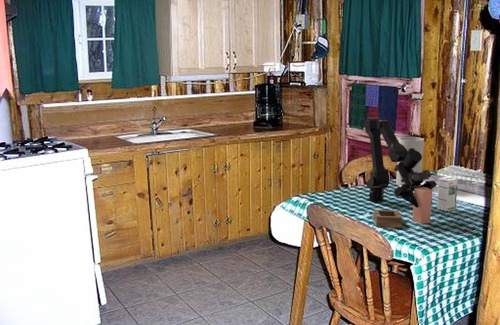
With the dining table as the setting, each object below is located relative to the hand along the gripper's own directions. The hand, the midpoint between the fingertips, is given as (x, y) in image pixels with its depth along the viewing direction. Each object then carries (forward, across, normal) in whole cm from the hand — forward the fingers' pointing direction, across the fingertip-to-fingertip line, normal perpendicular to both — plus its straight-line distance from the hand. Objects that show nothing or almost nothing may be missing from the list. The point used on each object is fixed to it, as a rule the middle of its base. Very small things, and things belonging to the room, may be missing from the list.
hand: (424, 205), depth 213 cm
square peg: (+4, 0, +6) cm, 7 cm away
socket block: (+1, -14, +9) cm, 17 cm away
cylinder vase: (-30, +36, +40) cm, 62 cm away
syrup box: (-1, +22, +12) cm, 25 cm away
